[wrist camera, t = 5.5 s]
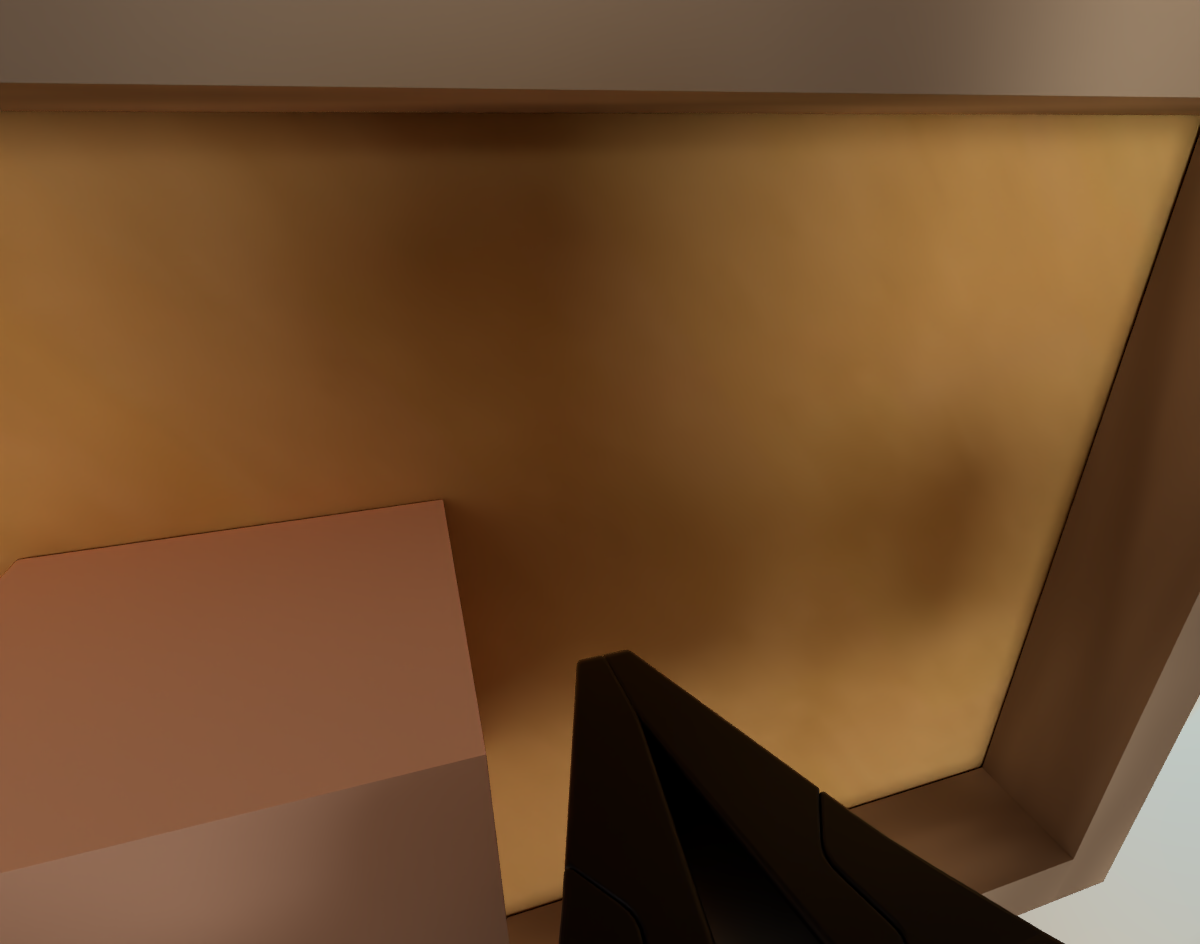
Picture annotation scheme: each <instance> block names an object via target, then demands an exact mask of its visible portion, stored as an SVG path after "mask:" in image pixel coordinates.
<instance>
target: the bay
mask: <svg viewBox="0 0 1200 944" xmlns="http://www.w3.org/2000/svg"><path fill="white" fill-rule="evenodd" d="M0 111H110V112H444V113H778V114H1112V115H1200V0H0ZM1199 695H1200V135H1199V138H1198V141H1197V144H1196V146H1195V149H1194V152H1193V155H1192V158H1191V161H1190V164H1189V167H1188V170H1187V173H1186V176H1185V178H1184V181H1183V184H1182V187H1181V190H1180V193H1179V196H1178V199H1177V202H1176V205H1175V208H1174V211H1173V213H1172V216H1171V219H1170V222H1169V225H1168V228H1167V231H1166V234H1165V237H1164V240H1163V243H1162V245H1161V248H1160V251H1159V254H1158V257H1157V260H1156V263H1155V266H1154V269H1153V272H1152V275H1151V278H1150V280H1149V283H1148V286H1147V289H1146V292H1145V295H1144V298H1143V301H1142V304H1141V307H1140V310H1139V312H1138V315H1137V318H1136V321H1135V324H1134V327H1133V330H1132V333H1131V336H1130V339H1129V342H1128V345H1127V347H1126V350H1125V353H1124V356H1123V359H1122V362H1121V365H1120V368H1119V371H1118V374H1117V377H1116V379H1115V382H1114V385H1113V388H1112V391H1111V394H1110V397H1109V400H1108V403H1107V406H1106V409H1105V412H1104V414H1103V417H1102V420H1101V423H1100V426H1099V429H1098V432H1097V435H1096V438H1095V441H1094V444H1093V446H1092V449H1091V452H1090V455H1089V458H1088V461H1087V464H1086V467H1085V470H1084V473H1083V476H1082V479H1081V481H1080V484H1079V487H1078V490H1077V493H1076V496H1075V499H1074V502H1073V505H1072V508H1071V511H1070V513H1069V516H1068V519H1067V522H1066V525H1065V528H1064V531H1063V534H1062V537H1061V540H1060V543H1059V546H1058V548H1057V551H1056V554H1055V557H1054V560H1053V563H1052V566H1051V569H1050V572H1049V575H1048V578H1047V580H1046V583H1045V586H1044V589H1043V592H1042V595H1041V598H1040V601H1039V604H1038V607H1037V610H1036V613H1035V615H1034V618H1033V621H1032V624H1031V627H1030V630H1029V633H1028V636H1027V639H1026V642H1025V645H1024V647H1023V650H1022V653H1021V656H1020V659H1019V662H1018V665H1017V668H1016V671H1015V674H1014V677H1013V680H1012V682H1011V685H1010V688H1009V691H1008V694H1007V697H1006V700H1005V703H1004V706H1003V709H1002V712H1001V714H1000V717H999V720H998V723H997V726H996V729H995V732H994V735H993V738H992V741H991V744H990V747H989V749H988V752H987V755H986V758H985V761H984V764H983V767H982V768H979V769H976V770H973V771H970V772H967V773H963V774H960V775H957V776H954V777H951V778H948V779H944V780H941V781H938V782H935V783H932V784H929V785H925V786H922V787H919V788H916V789H913V790H910V791H907V792H903V793H900V794H897V795H894V796H891V797H888V798H884V799H881V800H878V801H875V802H872V803H869V804H865V805H862V806H859V807H856V808H853V809H850V811H852V812H853V813H855V814H856V815H857V816H859V817H860V818H862V819H863V820H865V821H866V822H868V823H869V824H870V825H872V826H873V827H875V828H876V829H878V830H879V831H881V832H882V833H883V834H885V835H886V836H888V837H889V838H891V839H893V840H894V841H896V842H897V843H899V844H900V845H902V846H904V847H905V848H907V849H908V850H910V851H912V852H913V853H915V854H916V855H918V856H919V857H921V858H923V859H924V860H926V861H927V862H929V863H931V864H932V865H934V866H935V867H937V868H939V869H940V870H942V871H944V872H945V873H947V874H949V875H950V876H952V877H954V878H955V879H957V880H959V881H960V882H962V883H964V884H965V885H967V886H968V887H970V888H972V889H973V890H975V891H977V892H978V893H980V894H982V895H983V896H985V897H987V898H988V899H990V900H992V901H993V902H995V903H997V904H998V905H1000V906H1002V907H1003V908H1005V909H1007V910H1008V911H1010V912H1012V913H1013V914H1015V915H1016V916H1017V915H1020V914H1022V913H1025V912H1027V911H1030V910H1033V909H1035V908H1038V907H1040V906H1043V905H1045V904H1048V903H1050V902H1053V901H1055V900H1058V899H1060V898H1063V897H1066V896H1068V895H1070V894H1073V893H1076V892H1078V891H1081V890H1083V889H1086V888H1088V887H1091V886H1093V885H1096V884H1098V883H1101V882H1103V881H1104V879H1105V877H1106V875H1107V873H1108V871H1109V869H1110V867H1111V866H1112V864H1113V862H1114V860H1115V858H1116V856H1117V854H1118V852H1119V850H1120V848H1121V846H1122V844H1123V842H1124V840H1125V838H1126V837H1127V835H1128V833H1129V831H1130V829H1131V827H1132V825H1133V823H1134V821H1135V819H1136V817H1137V815H1138V813H1139V811H1140V809H1141V807H1142V805H1143V803H1144V802H1145V799H1146V798H1147V796H1148V794H1149V792H1150V790H1151V788H1152V786H1153V784H1154V782H1155V780H1156V778H1157V776H1158V774H1159V772H1160V771H1161V769H1162V767H1163V765H1164V763H1165V761H1166V759H1167V757H1168V755H1169V753H1170V751H1171V749H1172V747H1173V745H1174V743H1175V741H1176V739H1177V738H1178V735H1179V734H1180V732H1181V730H1182V728H1183V726H1184V724H1185V722H1186V720H1187V718H1188V716H1189V714H1190V712H1191V710H1192V708H1193V707H1194V705H1195V703H1196V701H1197V699H1198V697H1199ZM561 910H562V901H558V902H555V903H552V904H549V905H546V906H543V907H539V908H536V909H533V910H530V911H527V912H524V913H520V914H517V915H514V916H511V917H508V918H506V920H507V928H508V936H509V944H558V942H559V931H560V921H561Z"/></svg>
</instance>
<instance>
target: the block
mask: <svg viewBox="0 0 1200 944" xmlns="http://www.w3.org/2000/svg"><path fill="white" fill-rule="evenodd" d="M0 944H509V936H508V928H507V920H506V912H505V903H504V895H503V887H502V879H501V871H500V863H499V855H498V847H497V838H496V830H495V822H494V814H493V806H492V798H491V790H490V782H489V773H488V765H487V757H486V751H485V745H484V739H483V733H482V727H481V721H480V715H479V709H478V703H477V698H476V692H475V686H474V680H473V674H472V668H471V662H470V656H469V650H468V645H467V639H466V633H465V627H464V621H463V615H462V609H461V603H460V597H459V592H458V586H457V580H456V574H455V568H454V562H453V556H452V550H451V544H450V539H449V533H448V527H447V521H446V515H445V509H444V503H443V500H436V501H429V502H422V503H415V504H408V505H401V506H394V507H387V508H380V509H373V510H365V511H358V512H351V513H344V514H337V515H330V516H323V517H316V518H309V519H302V520H295V521H288V522H281V523H274V524H267V525H260V526H253V527H246V528H239V529H232V530H225V531H217V532H210V533H203V534H196V535H189V536H182V537H175V538H168V539H161V540H154V541H147V542H140V543H133V544H126V545H119V546H112V547H105V548H98V549H91V550H84V551H77V552H69V553H62V554H55V555H48V556H41V557H34V558H27V559H20V560H17V561H16V562H15V563H14V564H13V565H12V566H11V567H10V568H9V569H8V570H7V571H6V572H5V573H4V575H3V576H2V577H1V578H0Z"/></svg>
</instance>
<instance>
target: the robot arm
mask: <svg viewBox="0 0 1200 944" xmlns="http://www.w3.org/2000/svg"><path fill="white" fill-rule="evenodd" d="M558 944H1064V943H1063V942H1061V941H1059V940H1057V939H1055V938H1054V937H1052V936H1050V935H1048V934H1047V933H1045V932H1043V931H1041V930H1039V929H1038V928H1036V927H1035V926H1033V925H1031V924H1030V923H1028V922H1026V921H1025V920H1023V919H1021V918H1020V917H1018V916H1016V915H1015V914H1013V913H1012V912H1010V911H1008V910H1007V909H1005V908H1003V907H1002V906H1000V905H998V904H997V903H995V902H993V901H992V900H990V899H988V898H987V897H985V896H983V895H982V894H980V893H978V892H977V891H975V890H973V889H972V888H970V887H968V886H967V885H965V884H964V883H962V882H960V881H959V880H957V879H955V878H954V877H952V876H950V875H949V874H947V873H945V872H944V871H942V870H940V869H939V868H937V867H935V866H934V865H932V864H931V863H929V862H927V861H926V860H924V859H923V858H921V857H919V856H918V855H916V854H915V853H913V852H912V851H910V850H908V849H907V848H905V847H904V846H902V845H900V844H899V843H897V842H896V841H894V840H893V839H891V838H889V837H888V836H886V835H885V834H883V833H882V832H881V831H879V830H878V829H876V828H875V827H873V826H872V825H870V824H869V823H868V822H866V821H865V820H863V819H862V818H860V817H859V816H857V815H856V814H855V813H853V812H852V811H850V810H849V809H847V808H846V807H845V806H843V805H842V804H841V803H839V802H838V801H836V800H835V799H834V798H832V797H831V796H830V795H828V794H827V793H825V792H821V793H819V788H818V787H817V786H815V785H814V784H813V783H811V782H810V781H809V780H807V779H806V778H804V777H803V776H802V775H800V774H799V773H798V772H796V771H795V770H793V769H792V768H791V767H789V766H788V765H787V764H785V763H784V762H782V761H781V760H780V759H778V758H777V757H776V756H774V755H773V754H771V753H770V752H769V751H767V750H766V749H765V748H763V747H762V746H760V745H759V744H758V743H756V742H755V741H754V740H752V739H751V738H749V737H748V736H747V735H745V734H744V733H743V732H741V731H740V730H738V729H737V728H736V727H734V726H733V725H732V724H730V723H729V722H727V721H726V720H725V719H723V718H722V717H721V716H719V715H718V714H717V713H715V712H714V711H712V710H711V709H710V708H708V707H707V706H706V705H704V704H703V703H701V702H700V701H699V700H697V699H696V698H695V697H693V696H692V695H690V694H689V693H688V692H686V691H685V690H684V689H682V688H681V687H679V686H678V685H677V684H675V683H674V682H673V681H671V680H670V679H668V678H667V677H666V676H664V675H663V674H662V673H660V672H659V671H657V670H656V669H655V668H653V667H652V666H651V665H649V664H648V663H646V662H645V661H644V660H642V659H641V658H640V657H638V656H637V655H635V654H634V653H633V652H631V651H628V650H623V651H618V652H614V653H609V654H605V655H604V656H596V657H591V658H586V659H582V660H579V661H578V663H577V669H576V685H575V702H574V719H573V736H572V752H571V769H570V786H569V803H568V820H567V836H566V853H565V872H564V881H563V898H562V910H561V921H560V931H559V942H558Z"/></svg>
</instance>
